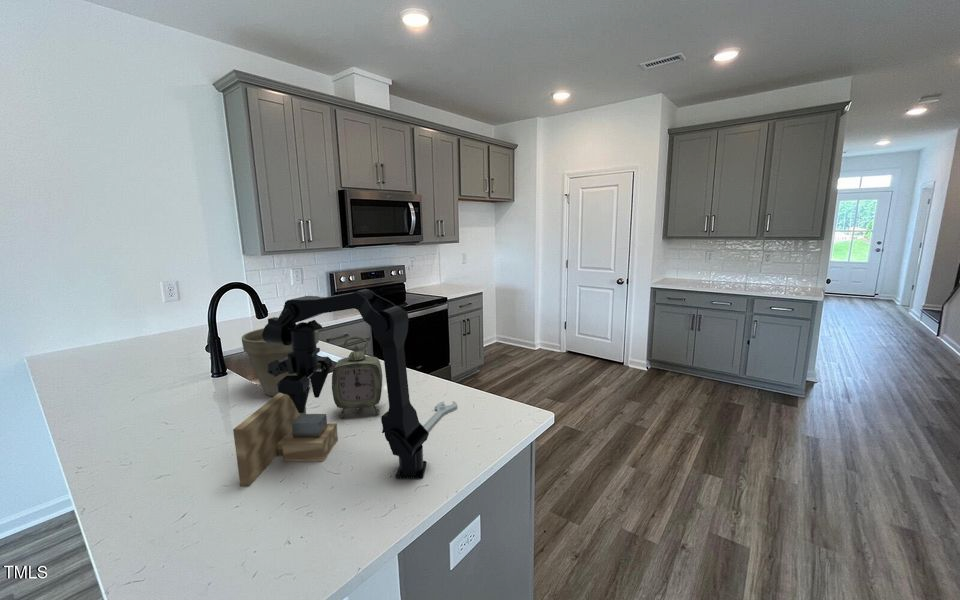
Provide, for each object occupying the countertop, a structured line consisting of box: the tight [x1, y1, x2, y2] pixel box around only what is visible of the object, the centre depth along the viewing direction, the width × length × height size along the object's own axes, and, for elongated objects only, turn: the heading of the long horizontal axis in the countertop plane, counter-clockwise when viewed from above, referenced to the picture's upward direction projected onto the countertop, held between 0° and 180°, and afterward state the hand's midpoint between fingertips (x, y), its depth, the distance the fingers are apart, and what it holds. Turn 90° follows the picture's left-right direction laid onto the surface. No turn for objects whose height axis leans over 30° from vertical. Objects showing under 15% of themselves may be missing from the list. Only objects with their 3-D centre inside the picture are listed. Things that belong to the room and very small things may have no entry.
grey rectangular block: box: [292, 413, 328, 438], centre depth 104 cm, size 5×7×8 cm
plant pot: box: [241, 327, 320, 397], centre depth 144 cm, size 25×25×22 cm
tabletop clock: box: [331, 336, 383, 419], centre depth 124 cm, size 14×9×25 cm, turn 101°
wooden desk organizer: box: [232, 393, 339, 487], centre depth 104 cm, size 30×15×14 cm, turn 179°
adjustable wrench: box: [422, 400, 458, 433], centre depth 121 cm, size 25×6×2 cm, turn 156°
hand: (309, 404), depth 103 cm, fingers open, 9 cm apart
